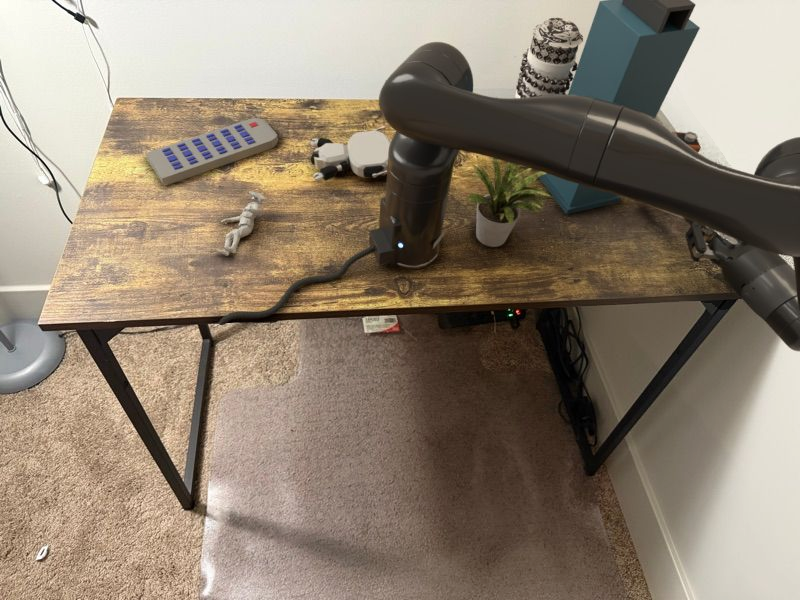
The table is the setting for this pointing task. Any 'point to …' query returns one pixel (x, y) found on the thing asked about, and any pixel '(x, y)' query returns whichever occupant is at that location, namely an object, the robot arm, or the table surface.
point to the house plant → (503, 202)
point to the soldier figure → (242, 224)
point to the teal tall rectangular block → (627, 71)
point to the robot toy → (352, 155)
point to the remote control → (211, 150)
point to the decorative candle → (549, 59)
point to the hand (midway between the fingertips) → (691, 204)
